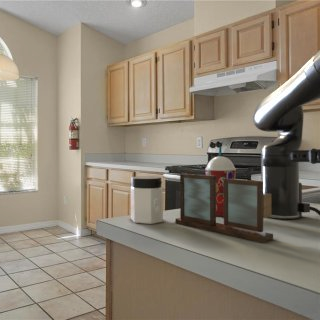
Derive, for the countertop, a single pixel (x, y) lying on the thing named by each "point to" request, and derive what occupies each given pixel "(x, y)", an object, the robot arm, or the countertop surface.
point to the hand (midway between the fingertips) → (301, 155)
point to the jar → (146, 199)
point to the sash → (245, 204)
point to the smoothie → (220, 178)
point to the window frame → (208, 208)
